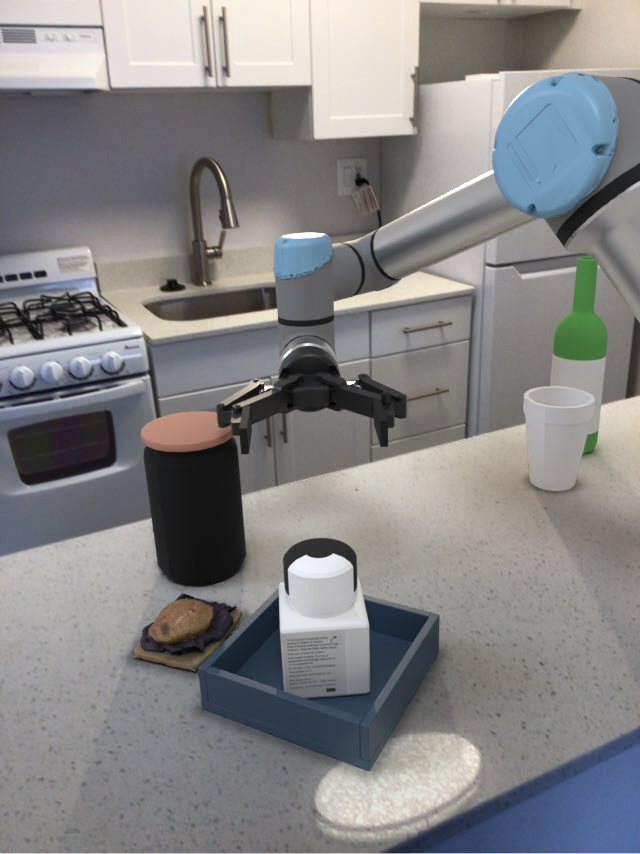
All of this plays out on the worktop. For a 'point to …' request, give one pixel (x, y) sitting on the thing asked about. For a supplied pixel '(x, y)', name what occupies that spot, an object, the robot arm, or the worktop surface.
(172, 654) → the bread roll
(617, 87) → the robot arm
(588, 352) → the wine bottle
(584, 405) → the foam cup
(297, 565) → the container
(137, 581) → the worktop surface
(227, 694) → the tote
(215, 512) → the coffee jar
